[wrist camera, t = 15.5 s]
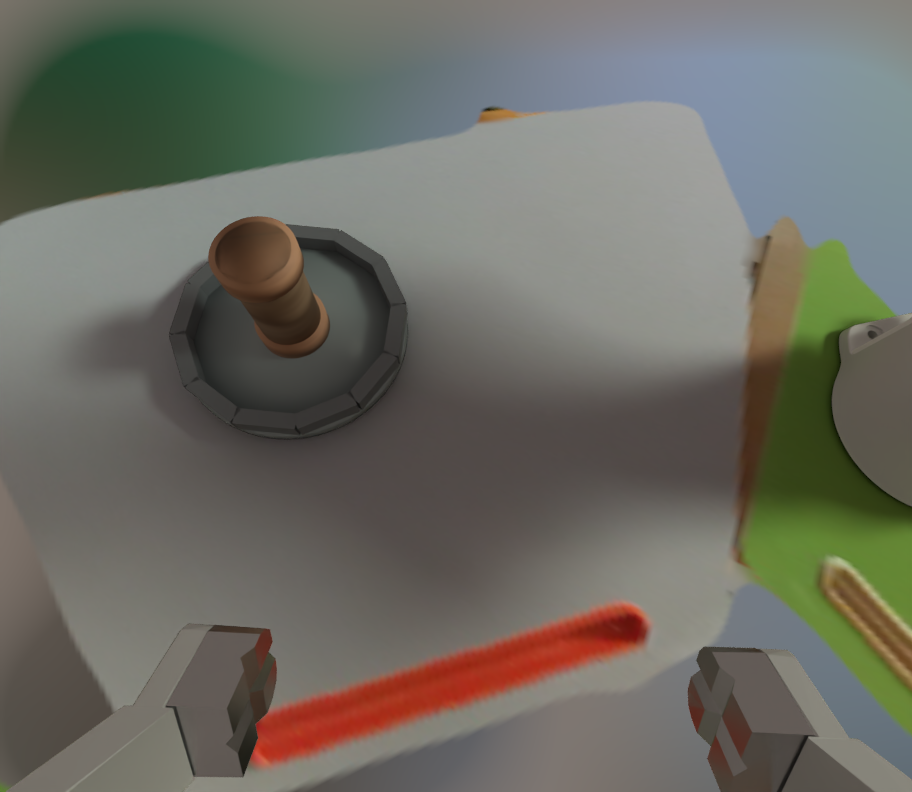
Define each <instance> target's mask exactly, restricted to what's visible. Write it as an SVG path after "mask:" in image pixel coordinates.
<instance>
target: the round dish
mask: <svg viewBox="0 0 912 792" xmlns="http://www.w3.org/2000/svg"><path fill="white" fill-rule="evenodd" d="M286 226H288V227H289V228H290V229H291V231H292V232H293V234H294V236H295V237H296V240H297V242H298V245H299V247H300V249H301V252H302V255H303V258H304V269H303V271H304V274H305V276H306V278H307V281H308V283H309V285H310V287H311V290H312V292H313V293H314V294H315V295H317V296H318V297H319V298H320V300H321V301H322V303H323V305H324V307H325V309H326V312H327V314H328V317H329V320H330V331H329V334H328V337H327V339H326V340H325V342H324V343H323V345H322V346H321V347H320V348H319V349H317V350H316V351H315V352H313V353H312V354H310V355H307V356H304V357H301V358H283V357H280V356H278V355H275V354H274V353H272V352H271V351H270V350H269V349H268V348H267V347H266V346H265V344H264V343H263V342H262V340H261V339H260V337H259V336H258V334H257V332H256V330H255V325H254V320H253V318H252V317H251V315H250V314H249V312H248V311H247V310H246V308H245V307H244V305H243V304H242V302H241V301H240V300H238V299H236V298H234V297H233V296H231V295H230V294H229V293H228V292H227V291H226V290H225V289H224V288H223V286H222V285H221V283H220V282H219V281H218V279H217V278H216V276H215V275H214V274H213V272H212V270H211V268H210V265H209V262H207V263H206V264H205V265H204V266H203V267H202V268H201V269H200V270H199V271H198V272H197V273H196V274H194V275H193V276H192V277H191V278H190V279H189V280H188V282H189V283H186V285H185V288H184V291H183V293H182V296H181V299H180V302H179V305H178V308H177V311H176V314H175V317H174V320H173V323H172V326H171V329H170V332H169V334H170V336H169V338H170V341H171V344H172V348H173V351H174V355H175V358H176V362H177V365H178V369H179V372H180V376H181V379H182V383H183V386H184V387H185V388H186V389H187V390H188V391H189V392H191V393H192V394H193V395H194V396H196V397H197V398H198V399H199V400H200V401H201V402H202V404H203V405H205V406H206V407H207V408H208V409H209V410H210V411H211V412H212V413H213V414H215V415H216V416H217V417H219V418H220V419H222V420H223V421H225V422H226V423H228V424H229V425H231V426H233V427H235V428H237V429H239V430H241V431H244V432H247V433H250V434H253V435H256V436H261V437H267V438H273V439H296V438H306V437H311V436H315V435H320V434H323V433H326V432H329V431H332V430H335V429H337V428H339V427H341V426H343V425H345V424H347V423H349V422H351V421H352V420H354V419H356V418H357V417H359V416H360V415H362V414H363V413H364V412H366V411H367V410H368V409H369V408H370V407H372V406H373V405H374V404H375V403H376V402H377V401H378V400H379V399H380V398H381V397H382V396H383V394H384V393H385V392H386V391H387V389H388V388H389V386H390V385H391V384H392V382H393V381H394V379H395V377H396V375H397V373H398V371H399V369H400V367H401V364H402V361H403V359H404V356H405V351H406V347H407V338H408V325H407V306H406V301H405V299H404V297H403V295H402V293H401V291H400V289H399V287H398V285H397V283H396V281H395V278H394V276H393V274H392V272H391V270H390V268H389V266H388V264H387V262H386V260H385V259H384V258H383V256H381V255H380V254H378V253H377V252H375V251H373V250H372V249H370V248H369V247H367V246H366V245H364V244H362V243H361V242H359V241H358V240H356V239H354V238H353V237H351V236H350V235H348V234H347V233H345V232H343V231H342V230H341V231H340V232H339V229H330V228H320V227H309V226H299V225H288V224H286Z"/></svg>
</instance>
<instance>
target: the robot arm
mask: <svg viewBox="0 0 912 792" xmlns="http://www.w3.org/2000/svg"><path fill="white" fill-rule="evenodd" d="M869 337H870V338H869ZM839 350H840V357H841V366H840V369H839V372H838V375H837V378H836V380H835V383H834V387H833V392H832V412H833V418H834V422H835V425H836V429H837V431H838V434H839V436H840V439H841V441H842V443H843V445H844V446H845V448H846V450H847V452H848V453H849V455H850V456H851V458H852V459H853V461H854V462H855V463H856V464H857V466H858V467H859V468H860V469H861V470H862V471H863V473H864V474H865V475H866V476H867V477H868V478H869V479H870V480H872V481H873V482H874V483H875V484H876V485H877V486H879V487H880V488H881V489H882V490H884V491H885V492H886V493H888V494H889V495H891V496H892V497H894V498H896V499H897V500H899V501H901V502H903V503H905V504H907V505H909V506H911V507H912V313H909V314H905V315H900V316H895V317H891V318H886V319H881V320H877V321H872V322H867V323H863V324H858V325H854V326H852V327H850V328H848V329H846V330H844V331H842V332H841V334H840V336H839ZM271 644H272V637H271V633H270V629H264V628H250V627H236V626H222V625H204V624H187V625H186V626H185V627H184V628H183V629H182V630H181V631H180V632H179V633H178V635H177V636H176V638H175V640H174V641H173V643H172V644H171V646H170V648H169V649H168V651H167V652H166V654H165V655H164V657H163V659H162V660H161V662H160V663H159V665H158V667H157V668H156V670H155V671H154V673H153V675H152V676H151V678H150V679H149V681H148V682H147V684H146V686H145V687H144V689H143V690H142V692H141V694H140V695H139V697H138V698H137V700H136V702H135V703H134V705H133V706H123V707H122V708H120V709H119V710H118V711H116V712H115V713H114V714H112V715H111V716H109V717H108V718H107V719H105V720H104V721H103V722H101V723H100V724H99V725H97V726H96V727H94V728H93V729H91V730H90V731H89V732H87V733H86V734H85V735H83V736H82V737H81V738H79V739H78V740H76V741H75V742H73V743H72V744H71V745H69V746H68V747H67V748H65V749H64V750H63V751H61V752H60V753H58V754H57V755H56V756H54V757H53V758H52V759H50V760H49V761H47V762H46V763H45V764H43V765H42V766H41V767H39V768H38V769H36V770H35V771H34V772H32V773H31V774H29V775H28V776H27V777H25V778H24V779H22V780H21V781H20V782H18V783H17V784H15V785H14V786H13V787H11V788H10V789H9V790H7V791H6V792H183V791H184V790H185V789H186V788H187V787H188V786H189V785H190V784H191V783H192V782H193V781H194V777H243V776H244V774H245V771H246V769H247V766H248V763H249V761H250V758H251V755H252V753H253V750H254V747H255V745H256V742H257V739H258V735H257V730H256V725H255V724H256V723H257V722H258V721H259V720H260V719H261V718H263V717H264V716H265V715H266V714H267V713H268V710H269V707H270V704H271V701H272V698H273V694H274V689H275V684H276V674H277V667H276V660H275V658H274V657H273V656H272V655H271V654H270V653H269V649H270V647H271ZM696 661H697V663H698V665H699V667H700V671H698V672H697V673H696V674H694V675H693V676H692V677H691V679H690V683H689V687H688V705H689V710H690V714H691V718H692V721H693V723H694V726H695V729H696V731H697V733H698V734H699V735H700V736H701V737H702V738H703V739H704V740H706V742H707V743H708V744H709V745H710V746H711V748H710V751H709V755H708V758H707V759H708V762H709V764H710V766H711V769H712V771H713V774H714V776H715V779H716V781H717V784H718V786H719V789H720V791H721V792H912V780H911V779H910V778H909V777H907V776H906V775H905V774H904V773H902V772H901V771H900V770H898V769H897V768H896V767H894V766H893V765H892V764H890V763H889V762H888V761H886V760H885V759H884V758H883V757H881V756H880V755H879V754H877V753H876V752H875V751H873V750H872V749H871V748H869V747H868V746H867V745H865V744H864V743H862V741H860V740H859V739H852V738H849V737H848V736H847V734H846V733H845V731H844V730H843V728H842V727H841V725H840V724H839V722H838V721H837V719H836V718H835V716H834V715H833V713H832V712H831V710H830V709H829V707H828V706H827V704H826V703H825V701H824V700H823V698H822V697H821V695H820V694H819V692H818V691H817V689H816V688H815V686H814V685H813V683H812V682H811V680H810V679H809V677H808V676H807V674H806V673H805V671H804V670H803V668H802V667H801V665H800V664H799V662H798V661H797V659H796V658H795V656H794V655H793V654H792V653H790V652H789V651H788V650H776V649H775V650H774V649H756V648H735V647H732V648H731V647H703V648H702V649H701V650H700V651H699V654H698V657H697V660H696Z"/></svg>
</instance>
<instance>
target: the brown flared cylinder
mask: <svg viewBox="0 0 912 792" xmlns="http://www.w3.org/2000/svg"><path fill="white" fill-rule="evenodd" d="M208 258H209V265H210V268H211V270H212V272H213V274H214V275H215V276H216V278H217V279H218V281H219V282H220V283H221V285H222V286H223V288H224V289H225V290H226V291H227V292H228V293H229V294H230V295H231V296H233V297H234V298H236V299H238V300H240V301H241V302H242V304H243V305H244V307H245V308H246V310H247V311H248V312H249V314H250V315H251V317H252V318H253V320H254V325H255V330H256V332H257V334H258V336H259V337H260V339H261V340H262V342H263V343H264V344H265V346H266V347H267V348H268V349H269V350H270V351H271V352H272V353H274V354H275V355H278V356H280V357H283V358H301V357H304V356H307V355H310V354H312V353H313V352H315V351H316V350H317V349H319V348H320V347H321V346H322V345H323V343H324V342H325V340H326V339H327V337H328V334H329V331H330V320H329V317H328V314H327V312H326V309H325V307H324V305H323V303H322V301H321V300H320V298H319V297H318V296H317V295H315V294H314V293H313V292H312V290H311V287H310V285H309V283H308V281H307V278H306V276H305V274H304V271H303V269H304V258H303V255H302V252H301V249H300V247H299V245H298V242H297V240H296V237H295V236H294V234H293V232H292V231H291V229H290V228H289V227H288V226H286V225H285V224H284V223H282V222H280V221H278V220H276V219H273V218H269V217H259V216H257V217H248V218H244V219H240V220H238V221H235V222H233V223H231V224H230V225H228V226H227V227H225V228H224V229H223V230H222V231H221V232H220V233H219V234H218V235H217V236H216V237H215V239H214V240H213V242H212V244H211V247H210V250H209V256H208Z"/></svg>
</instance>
